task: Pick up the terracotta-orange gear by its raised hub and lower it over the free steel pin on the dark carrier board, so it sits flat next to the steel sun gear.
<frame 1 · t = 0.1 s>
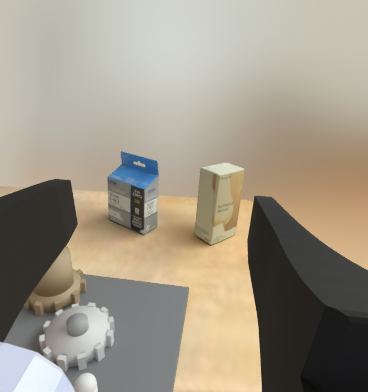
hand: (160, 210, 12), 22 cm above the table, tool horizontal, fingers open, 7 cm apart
carrier board: (80, 347, 30), on the table
label tape box: (133, 224, 54), on the table
skincare box: (215, 235, 52), on the table
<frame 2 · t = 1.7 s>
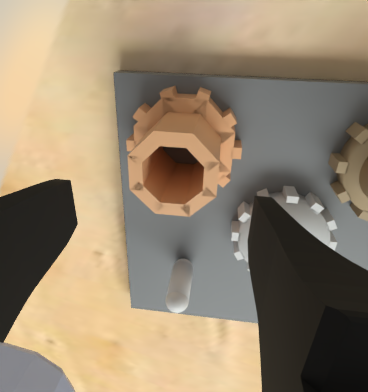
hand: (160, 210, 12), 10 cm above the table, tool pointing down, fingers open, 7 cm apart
carrier board: (277, 220, 23), on the table
planet gear: (185, 142, 19), point 1 cm above the table, touching carrier board
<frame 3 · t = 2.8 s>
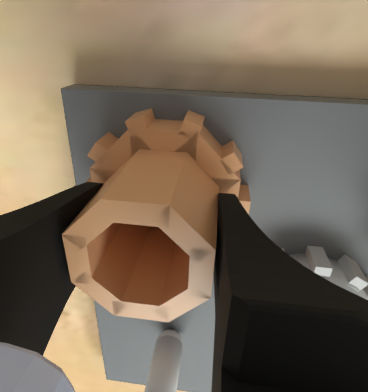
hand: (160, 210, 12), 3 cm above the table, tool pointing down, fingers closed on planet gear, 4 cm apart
carrier board: (295, 282, 17), on the table
planet gear: (169, 185, 14), point 1 cm above the table, touching carrier board, gripper
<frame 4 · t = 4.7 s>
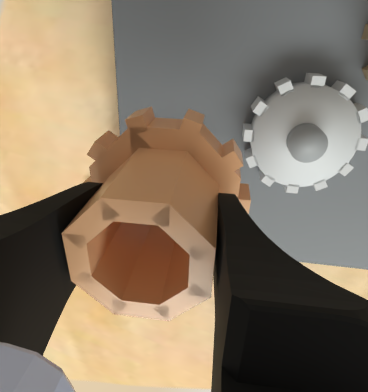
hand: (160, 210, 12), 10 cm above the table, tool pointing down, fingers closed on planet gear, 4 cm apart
carrier board: (295, 127, 20), on the table
planet gear: (169, 184, 14), point 8 cm above the table, touching gripper
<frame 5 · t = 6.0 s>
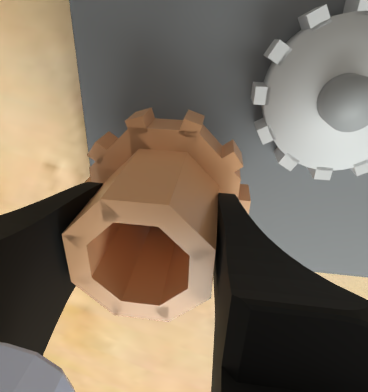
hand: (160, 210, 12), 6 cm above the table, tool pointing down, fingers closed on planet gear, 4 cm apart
carrier board: (323, 89, 14), on the table
planet gear: (169, 185, 14), point 3 cm above the table, touching gripper
when the fingers open (4 cm above the table, at t = 6.9 s): planet gear stays where it is, resting on carrier board.
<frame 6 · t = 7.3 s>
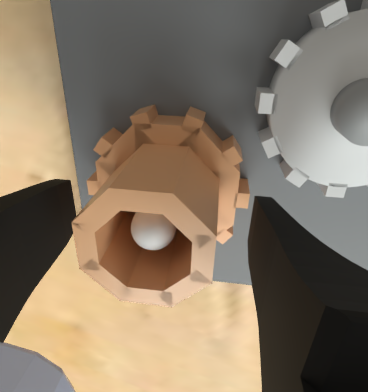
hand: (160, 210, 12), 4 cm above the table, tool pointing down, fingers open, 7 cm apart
carrier board: (335, 95, 13), on the table
planet gear: (171, 179, 14), point 1 cm above the table, touching carrier board
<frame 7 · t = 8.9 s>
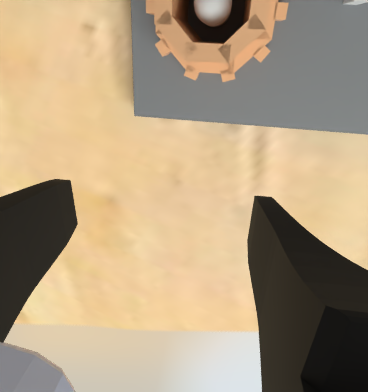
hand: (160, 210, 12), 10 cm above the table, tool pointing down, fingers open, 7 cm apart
planet gear: (215, 10, 16), point 1 cm above the table, touching carrier board
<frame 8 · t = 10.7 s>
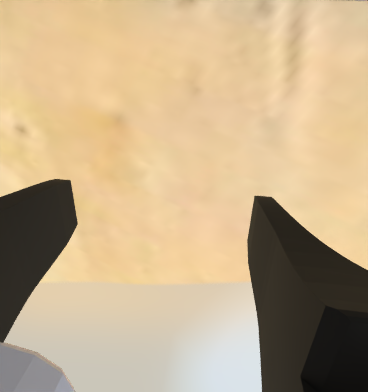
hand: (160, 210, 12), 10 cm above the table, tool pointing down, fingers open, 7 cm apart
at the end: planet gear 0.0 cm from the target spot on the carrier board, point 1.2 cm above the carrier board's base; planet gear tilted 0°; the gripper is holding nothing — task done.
